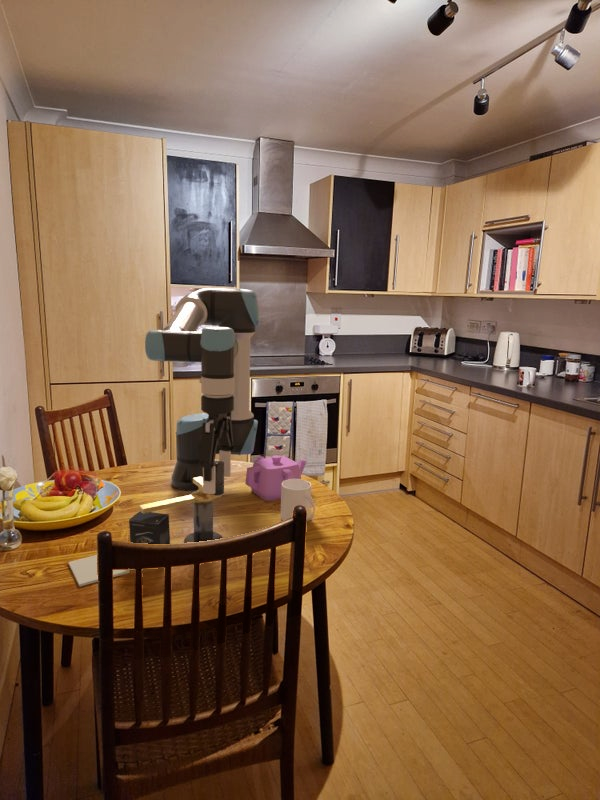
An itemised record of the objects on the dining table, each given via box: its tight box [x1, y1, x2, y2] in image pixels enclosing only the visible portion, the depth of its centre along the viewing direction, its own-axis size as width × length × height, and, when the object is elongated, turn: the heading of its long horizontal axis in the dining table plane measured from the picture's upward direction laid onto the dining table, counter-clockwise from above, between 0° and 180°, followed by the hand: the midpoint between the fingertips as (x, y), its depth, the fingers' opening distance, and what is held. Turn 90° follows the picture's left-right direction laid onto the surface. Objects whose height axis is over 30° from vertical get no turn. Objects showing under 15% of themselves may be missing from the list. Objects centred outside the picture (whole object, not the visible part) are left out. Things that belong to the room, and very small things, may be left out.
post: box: [183, 501, 224, 544], centre depth 133 cm, size 10×10×12 cm
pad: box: [68, 554, 131, 588], centre depth 120 cm, size 11×11×1 cm
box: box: [128, 510, 171, 545], centre depth 125 cm, size 8×6×11 cm
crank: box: [138, 460, 225, 514], centre depth 125 cm, size 14×19×12 cm
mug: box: [280, 478, 316, 522], centre depth 148 cm, size 9×12×11 cm
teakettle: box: [245, 455, 307, 502], centre depth 168 cm, size 17×17×12 cm
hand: (217, 484), depth 124 cm, fingers open, 11 cm apart
